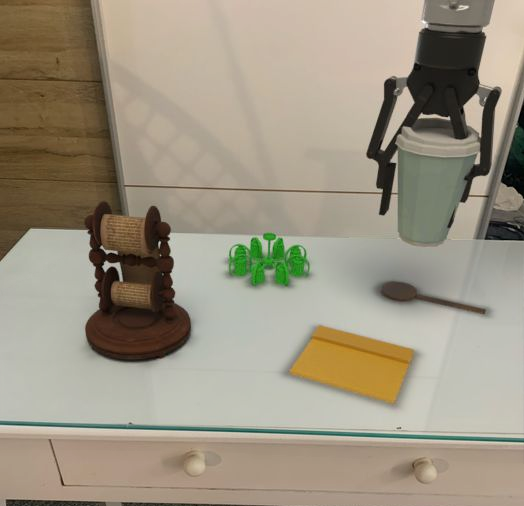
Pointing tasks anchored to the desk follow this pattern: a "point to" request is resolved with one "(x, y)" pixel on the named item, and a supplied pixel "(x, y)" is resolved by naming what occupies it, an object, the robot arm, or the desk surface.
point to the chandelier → (268, 260)
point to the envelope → (354, 363)
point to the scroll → (133, 287)
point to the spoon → (419, 296)
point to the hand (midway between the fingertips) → (415, 217)
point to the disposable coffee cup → (431, 178)
